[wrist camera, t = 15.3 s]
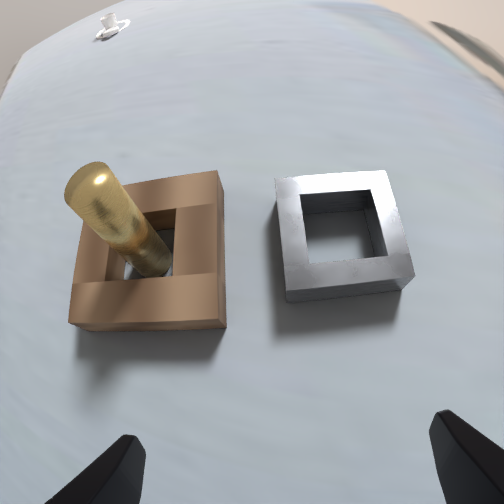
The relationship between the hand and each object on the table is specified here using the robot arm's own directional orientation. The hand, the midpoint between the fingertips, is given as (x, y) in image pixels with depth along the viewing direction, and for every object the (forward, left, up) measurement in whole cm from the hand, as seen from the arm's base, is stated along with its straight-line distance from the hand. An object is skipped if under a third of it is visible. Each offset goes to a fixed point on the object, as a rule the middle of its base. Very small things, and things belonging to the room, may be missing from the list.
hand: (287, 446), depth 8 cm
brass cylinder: (-10, +12, -14) cm, 21 cm away
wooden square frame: (-10, +13, -14) cm, 21 cm away
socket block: (+5, +13, -14) cm, 19 cm away
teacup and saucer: (-31, +65, -14) cm, 73 cm away
